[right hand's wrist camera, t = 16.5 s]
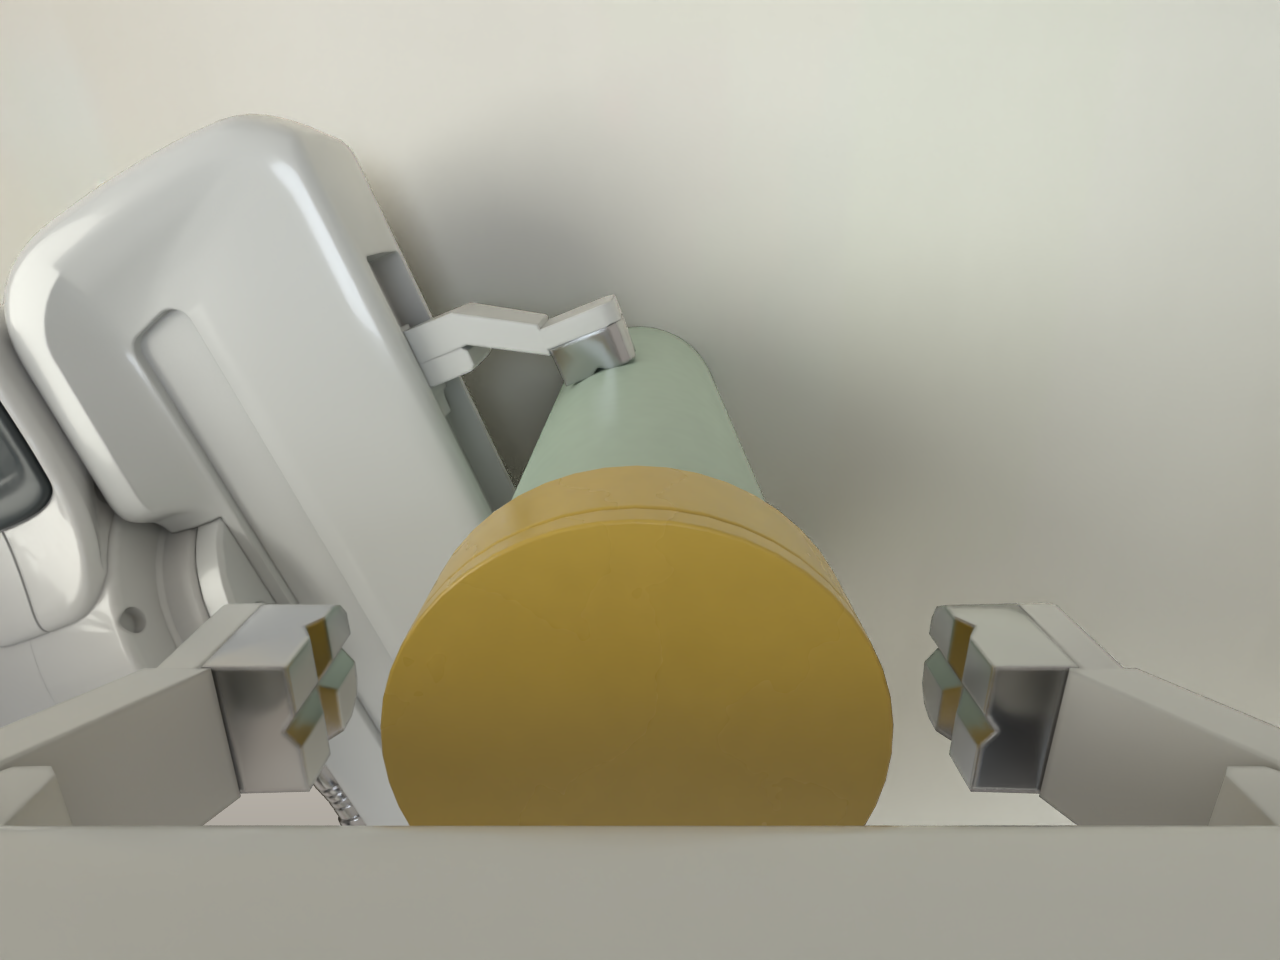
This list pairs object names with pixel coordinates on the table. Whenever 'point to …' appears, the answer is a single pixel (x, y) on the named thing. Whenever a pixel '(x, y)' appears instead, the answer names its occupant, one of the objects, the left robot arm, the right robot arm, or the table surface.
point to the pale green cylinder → (642, 419)
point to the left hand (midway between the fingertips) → (670, 439)
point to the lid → (636, 668)
